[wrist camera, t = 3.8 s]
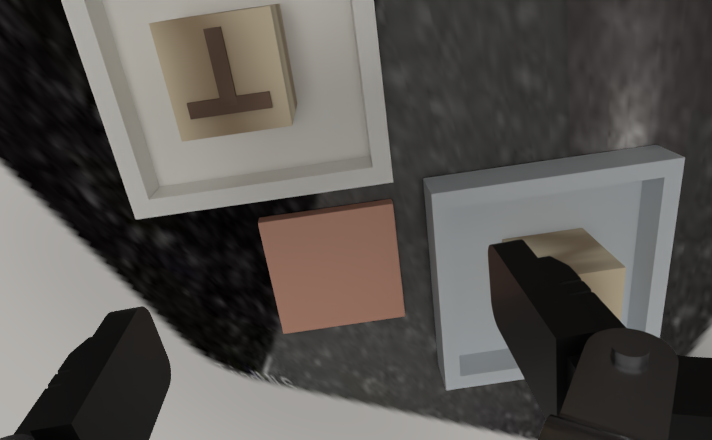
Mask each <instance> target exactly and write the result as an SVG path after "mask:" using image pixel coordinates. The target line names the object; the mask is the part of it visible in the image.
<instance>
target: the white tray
mask: <svg viewBox="0 0 712 440" xmlns="http://www.w3.org/2000/svg"><path fill="white" fill-rule="evenodd" d="M61 2H62V4H63V7H64V10H65V13H66V16H67V19H68V22H69V25H70V28H71V31H72V34H73V37H74V40H75V43H76V46H77V49H78V51H79V54H80V57H81V60H82V63H83V66H84V69H85V72H86V75H87V78H88V81H89V84H90V87H91V90H92V93H93V95H94V98H95V101H96V104H97V107H98V110H99V113H100V116H101V119H102V122H103V125H104V128H105V131H106V134H107V137H108V140H109V142H110V145H111V148H112V151H113V154H114V157H115V160H116V163H117V166H118V169H119V172H120V175H121V178H122V181H123V184H124V187H125V189H126V192H127V195H128V198H129V201H130V204H131V207H132V210H133V213H134V216H135V219H143V218H150V217H157V216H164V215H171V214H178V213H184V212H191V211H198V210H205V209H212V208H219V207H226V206H233V205H240V204H247V203H254V202H261V201H268V200H274V199H281V198H288V197H295V196H302V195H309V194H316V193H323V192H330V191H337V190H344V189H351V188H357V187H364V186H371V185H378V184H385V183H392V182H393V175H392V165H391V156H390V147H389V137H388V128H387V119H386V110H385V100H384V91H383V82H382V72H381V63H380V54H379V44H378V35H377V26H376V16H375V7H374V0H61ZM279 3H280V9H281V14H282V20H283V26H284V31H285V37H286V42H287V48H288V54H289V59H290V65H291V70H292V76H293V82H294V87H295V93H296V99H297V107H296V112H295V116H294V121H293V125H292V126H287V127H280V128H273V129H266V130H259V131H253V132H246V133H239V134H232V135H225V136H218V137H211V138H204V139H197V140H190V141H183V142H182V140H181V137H180V133H179V130H178V126H177V122H176V119H175V115H174V112H173V108H172V105H171V101H170V97H169V94H168V90H167V87H166V83H165V80H164V76H163V72H162V69H161V65H160V62H159V58H158V55H157V51H156V47H155V44H154V40H153V37H152V33H151V30H150V26H149V23H154V22H159V21H165V20H171V19H176V18H182V17H189V16H196V15H203V14H210V13H217V12H224V11H231V10H238V9H245V8H251V7H258V6H265V5H272V4H279Z"/></svg>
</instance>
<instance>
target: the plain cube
mask: <svg viewBox="0 0 712 440" xmlns="http://www.w3.org/2000/svg"><path fill="white" fill-rule="evenodd" d="M519 239H522V240H524V241H525V243H526V244H527V245H528V246H529V247H530V249H531V250H532V251H533V252H534V254H535V255H536V256H537V257H538V258H540V257H546V256H551V257H553V258H555V259H557V260H559V261H561V262H563V263H565V264H567V265H569V266H570V267H571V268H572V269H573V270H574V271H575V272H576V273H577V274H578V276H579V277H580V278H581V281H584V282H585V283H586V284H587V285H588V287H589V288H590V289H591V292H594V293H595V294H596V295H597V296H598V297H599V299H600V300H601V301H602V302H603V303H604V304H605V305H606V306H607V307H608V308H609V309H610V311H611V312H612V313H613V314H614V315H615V316H616V317H617V318H618V319H619V320H620V321H621V313H622V303H623V293H624V283H625V273H626V267H625V266H624V265H623V264H622V263H621V262H620V261H618V260H617V259H616V258H615V257H614V256H613V255H612V254H611V253H610V252H608V251H607V250H606V249H605V248H604V247H603V246H602V245H601V244H600V243H599V242H597V241H596V240H595V239H594V238H593V237H592V236H591V235H590V234H589V233H588V232H586V231H585V230H584V229H583V228H577V229H570V230H563V231H556V232H549V233H542V234H535V235H529V236H522V237H515V238H508V239H502V242H508V241H513V240H519Z"/></svg>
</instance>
